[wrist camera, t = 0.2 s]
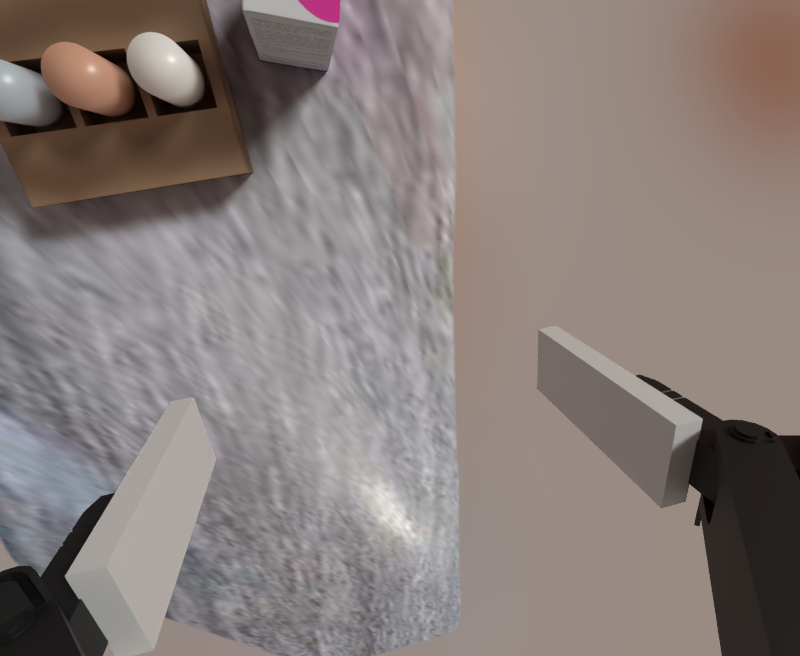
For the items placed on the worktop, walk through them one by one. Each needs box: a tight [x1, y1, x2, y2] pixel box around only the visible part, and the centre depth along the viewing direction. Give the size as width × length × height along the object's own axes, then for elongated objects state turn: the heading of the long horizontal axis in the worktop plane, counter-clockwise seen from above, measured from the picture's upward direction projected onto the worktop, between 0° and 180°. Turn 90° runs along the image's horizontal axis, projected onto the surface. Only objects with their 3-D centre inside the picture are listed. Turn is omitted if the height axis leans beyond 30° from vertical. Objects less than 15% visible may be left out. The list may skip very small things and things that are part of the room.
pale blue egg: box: [0, 59, 65, 127], centre depth 27 cm, size 4×4×5 cm
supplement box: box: [241, 0, 340, 72], centre depth 28 cm, size 6×6×12 cm
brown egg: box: [41, 42, 137, 117], centre depth 27 cm, size 4×4×5 cm
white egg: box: [127, 32, 206, 108], centre depth 28 cm, size 4×4×5 cm
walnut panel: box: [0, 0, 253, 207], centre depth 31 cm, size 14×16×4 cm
